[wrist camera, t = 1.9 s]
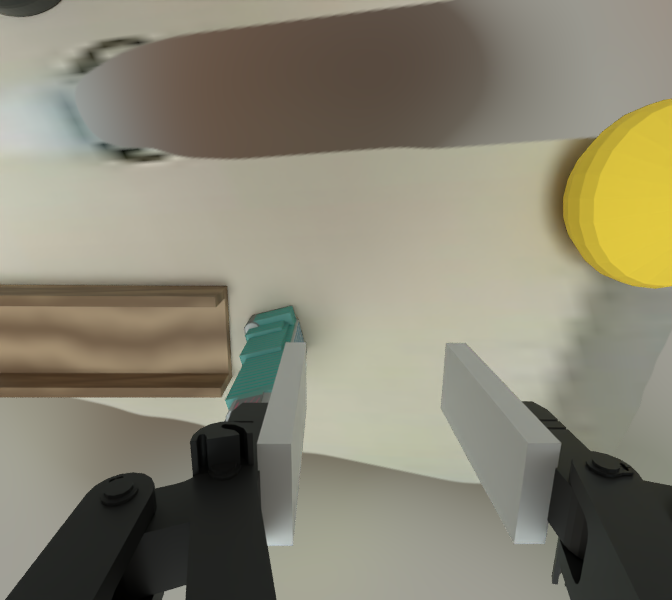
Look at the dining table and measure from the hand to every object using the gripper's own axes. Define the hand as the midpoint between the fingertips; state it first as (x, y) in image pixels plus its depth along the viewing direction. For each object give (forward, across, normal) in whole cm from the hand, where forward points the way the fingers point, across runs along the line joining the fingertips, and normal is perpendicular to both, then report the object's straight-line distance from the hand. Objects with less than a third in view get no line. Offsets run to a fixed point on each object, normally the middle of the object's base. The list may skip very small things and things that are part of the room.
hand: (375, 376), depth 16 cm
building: (+35, -8, -10) cm, 37 cm away
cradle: (+35, -28, -10) cm, 46 cm away
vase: (+35, +32, +7) cm, 48 cm away
